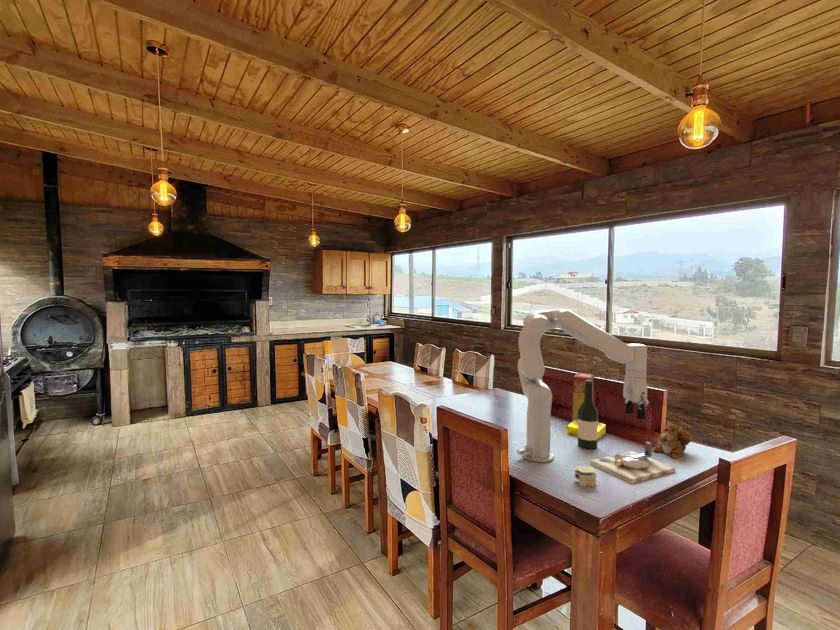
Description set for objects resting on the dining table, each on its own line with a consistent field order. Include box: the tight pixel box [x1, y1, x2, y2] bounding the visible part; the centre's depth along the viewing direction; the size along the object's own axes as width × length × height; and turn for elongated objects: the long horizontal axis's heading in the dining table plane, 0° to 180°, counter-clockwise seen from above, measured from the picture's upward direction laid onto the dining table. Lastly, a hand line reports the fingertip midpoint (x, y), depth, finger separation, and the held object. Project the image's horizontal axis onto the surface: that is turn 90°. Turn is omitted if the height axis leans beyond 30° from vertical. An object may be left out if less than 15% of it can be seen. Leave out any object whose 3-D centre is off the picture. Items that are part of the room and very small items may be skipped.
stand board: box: [589, 450, 676, 484], centre depth 161 cm, size 24×19×2 cm
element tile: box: [566, 419, 607, 441], centre depth 202 cm, size 15×15×5 cm
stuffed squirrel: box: [652, 421, 694, 459], centre depth 176 cm, size 10×14×13 cm
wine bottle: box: [577, 380, 599, 451], centre depth 183 cm, size 8×8×30 cm
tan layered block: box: [573, 465, 598, 487], centre depth 148 cm, size 10×9×6 cm
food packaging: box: [571, 372, 595, 422], centre depth 221 cm, size 13×9×25 cm
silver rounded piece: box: [614, 441, 653, 470], centre depth 162 cm, size 19×12×7 cm, turn 114°
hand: (635, 415), depth 170 cm, fingers open, 7 cm apart
